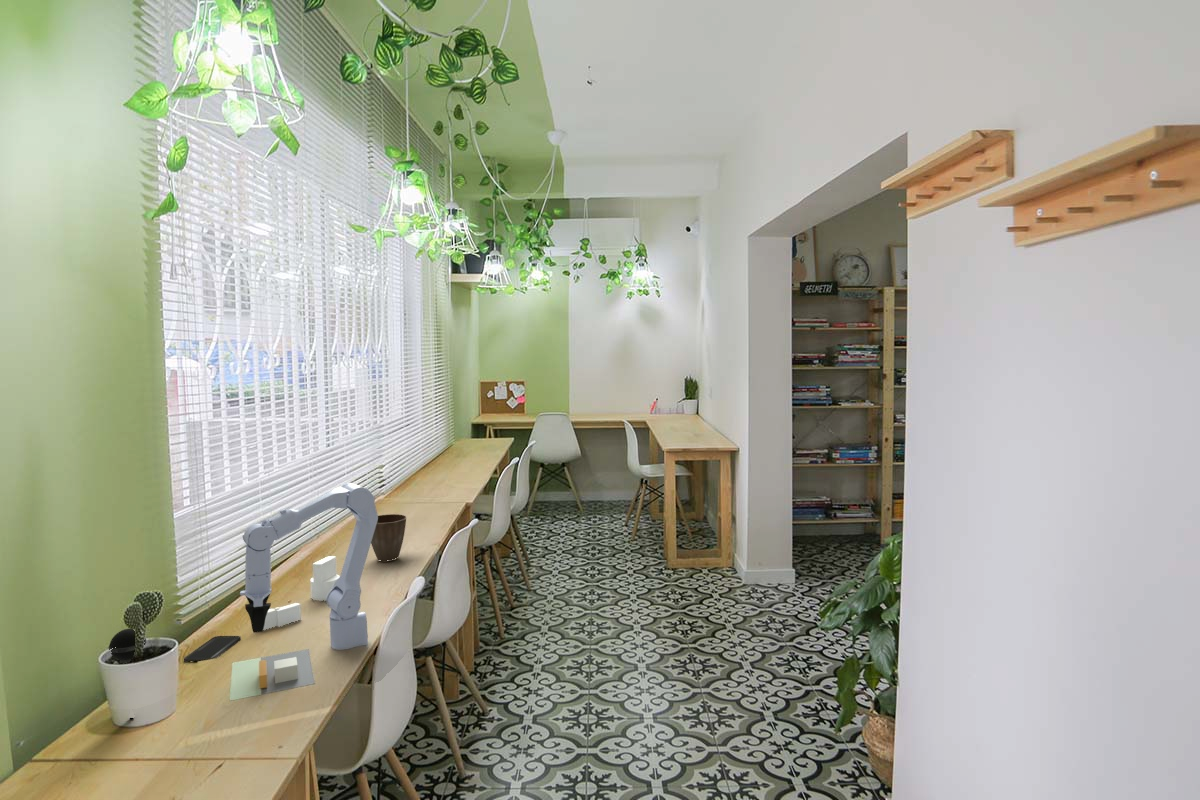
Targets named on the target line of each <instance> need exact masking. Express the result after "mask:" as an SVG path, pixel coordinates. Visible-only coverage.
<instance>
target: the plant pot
mask: <svg viewBox="0 0 1200 800" xmlns="http://www.w3.org/2000/svg"><path fill="white" fill-rule="evenodd" d="M406 523H407V516H406V515H404V514H397V513H396V514H394V513H393V514H391V513H389V514H388V513H387V514H381V515H379V514H378V521H377V524H376V527H375V531H374V534H373V538H372V541H371V544H370V545H371V548H372V550H373V552H374V554H375V555H374V556H376V559H377V561H378V560H381V561H387V560H392V559H395V558H397V557H398V558H399V556H400V552H401V550H402V546H403V542H404V537H405V533H406V532H405V531H406Z"/></svg>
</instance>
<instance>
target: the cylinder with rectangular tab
mask: <svg viewBox="0 0 1200 800" xmlns="http://www.w3.org/2000/svg"><path fill="white" fill-rule="evenodd" d="M337 570H338V569H337V556H335V555H334V556H333V555H331V556H330V555H328V556H326V557H324V558H322V559H320V560H317V561H316V562H313V563H312V577H311V578H310V597H311V598H312V599H313V600H312V599H311V598H310V599H311V600H312V601H315V600H319V601H318V602H322V601H323V600H324V602H325V601H326V602H327V595H328V593H329V592H330V591H331V590H332V588H333V587H334V584H335V581H336V580H337V579H338V578H339V577H340V575H339V574H337V573H338V571H337Z"/></svg>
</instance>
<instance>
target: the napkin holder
mask: <svg viewBox="0 0 1200 800" xmlns="http://www.w3.org/2000/svg"><path fill="white" fill-rule="evenodd" d="M301 609H302V607H301V603H298V602H294V603H291V604H287V605H284V606H278V607H274V608H269V610H268V612H267V615H266V619H265V624H264V629H263V630H264V631H267V630H270V629H273V628H276V627H275V626H278V627H277V628H281V627H284V626H283V625H285V624H288V625H290V624H289V623H291V622H294V623H296V622H295V621H297V622H299V621H298V620H300V621H302V610H301ZM291 624H292V623H291ZM280 626H281V627H280ZM285 626H286V625H285ZM272 627H273V628H272ZM269 628H270V629H269ZM266 629H267V630H266Z"/></svg>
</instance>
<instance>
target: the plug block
mask: <svg viewBox="0 0 1200 800" xmlns="http://www.w3.org/2000/svg"><path fill="white" fill-rule="evenodd" d="M274 671H275V683H280V682H285V681H290V680H295V679H298V667H297V658H296V657H293V658H287V659H282V660H277V661H274Z"/></svg>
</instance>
